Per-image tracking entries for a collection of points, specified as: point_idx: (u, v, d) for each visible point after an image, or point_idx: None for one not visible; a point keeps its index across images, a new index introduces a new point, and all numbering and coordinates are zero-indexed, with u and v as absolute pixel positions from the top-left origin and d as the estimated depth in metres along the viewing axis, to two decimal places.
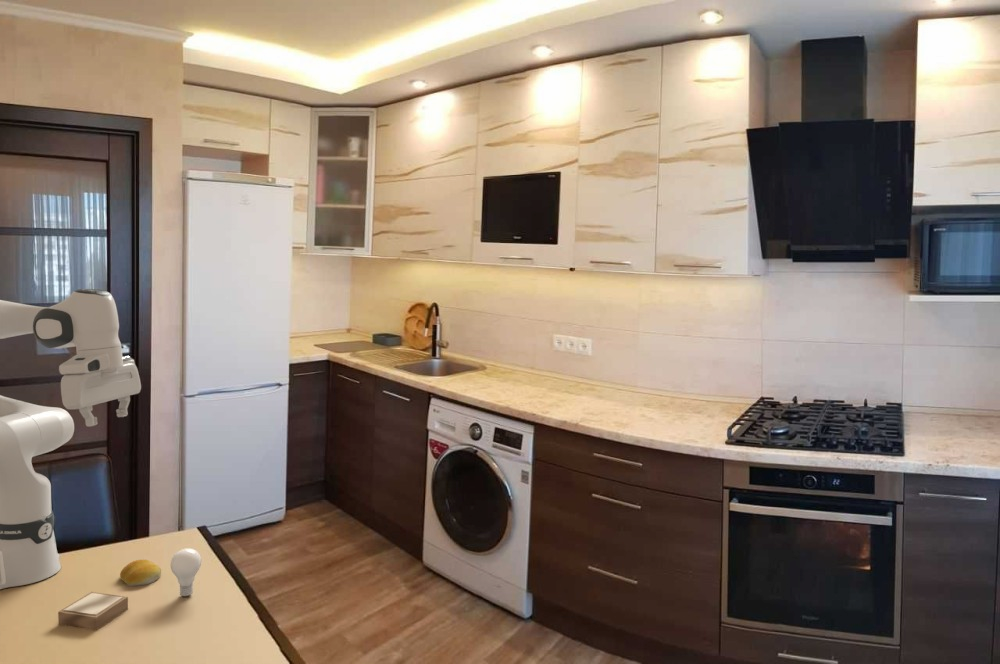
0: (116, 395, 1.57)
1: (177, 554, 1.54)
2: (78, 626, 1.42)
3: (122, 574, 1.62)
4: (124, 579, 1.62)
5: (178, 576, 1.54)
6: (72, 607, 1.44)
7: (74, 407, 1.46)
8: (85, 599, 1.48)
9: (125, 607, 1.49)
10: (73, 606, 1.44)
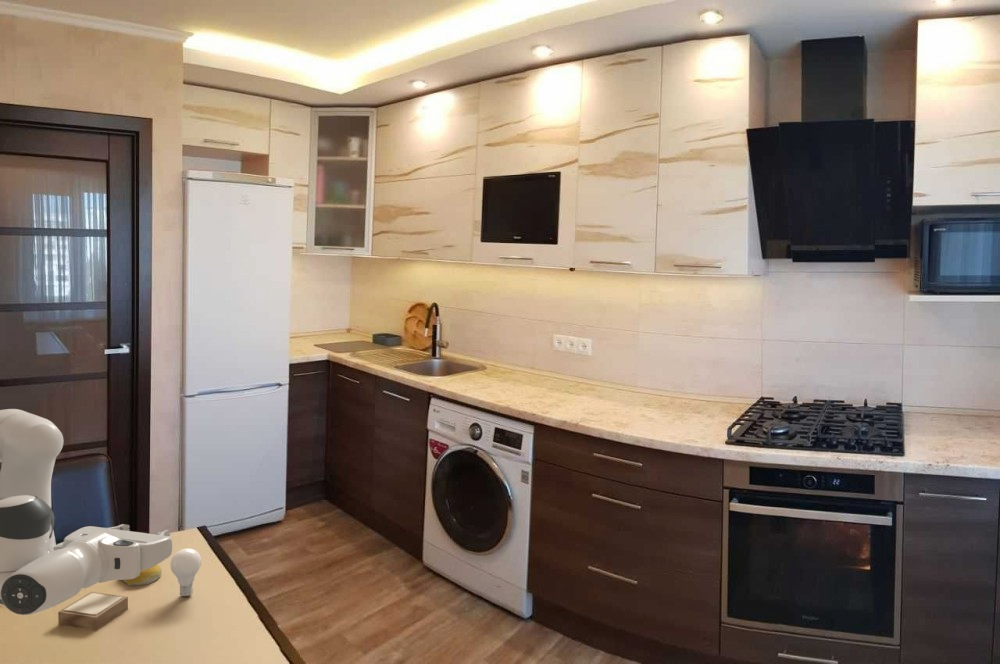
0: (120, 531, 1.37)
1: (177, 554, 1.54)
2: (78, 626, 1.42)
3: None
4: None
5: (178, 576, 1.54)
6: (72, 607, 1.44)
7: None
8: (85, 599, 1.48)
9: (125, 607, 1.49)
10: (73, 606, 1.44)
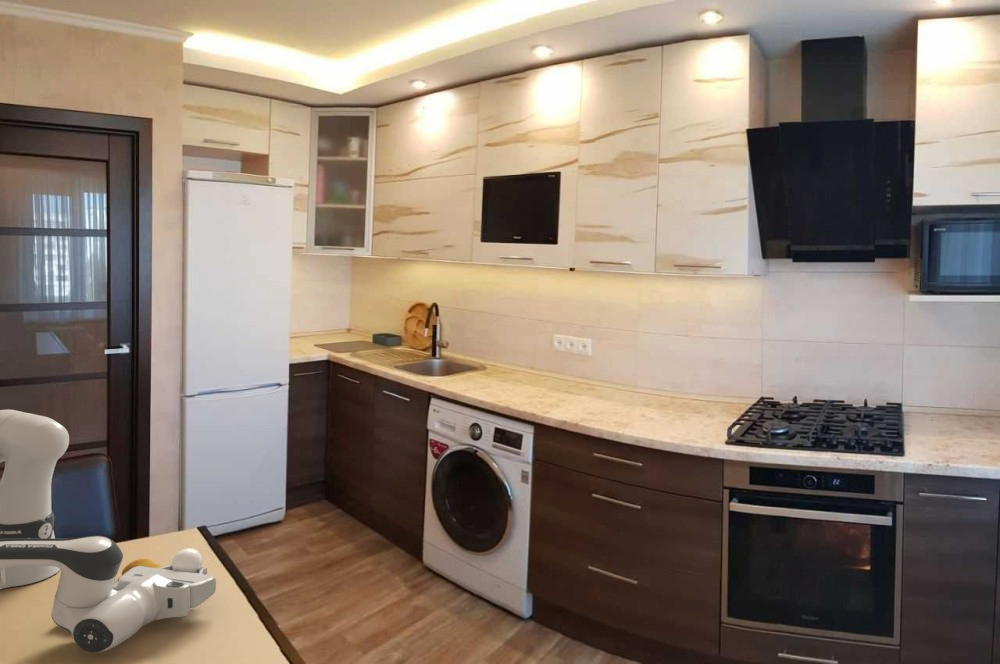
0: (168, 570, 1.52)
1: (178, 554, 1.54)
2: None
3: (124, 573, 1.62)
4: None
5: None
6: None
7: (215, 580, 1.50)
8: None
9: None
10: None
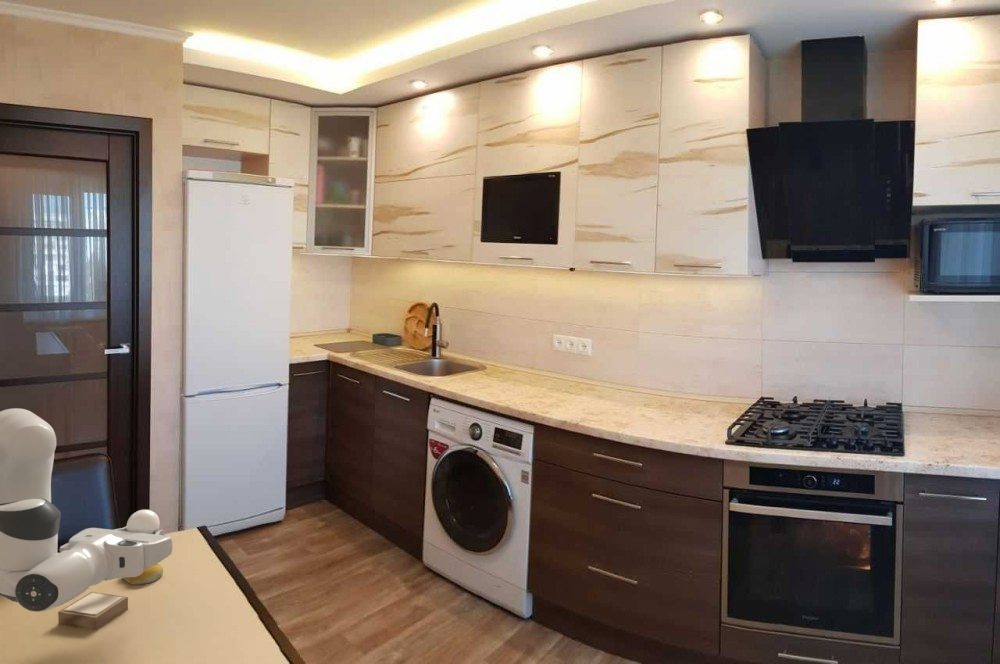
0: (122, 531, 1.45)
1: (134, 515, 1.48)
2: (78, 626, 1.42)
3: None
4: (126, 578, 1.62)
5: None
6: (72, 607, 1.44)
7: None
8: (85, 599, 1.48)
9: (125, 607, 1.49)
10: (73, 606, 1.44)
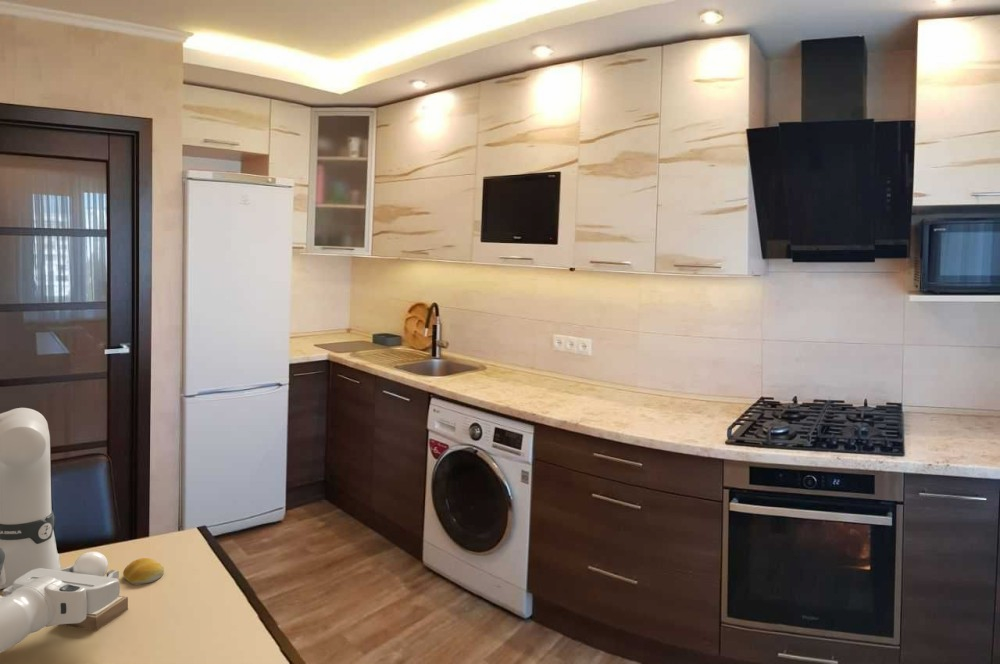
0: (69, 573, 1.41)
1: (80, 558, 1.44)
2: (78, 626, 1.42)
3: (125, 573, 1.63)
4: (127, 577, 1.62)
5: None
6: None
7: None
8: None
9: (125, 607, 1.49)
10: None
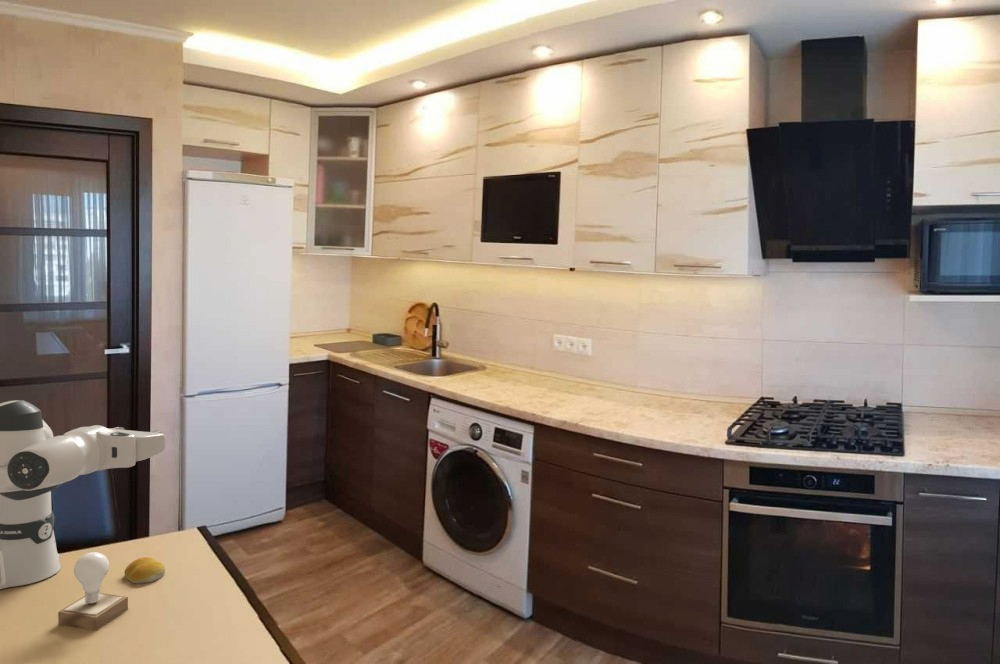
0: (116, 429, 1.46)
1: (81, 558, 1.44)
2: (78, 626, 1.42)
3: (127, 572, 1.63)
4: (129, 577, 1.63)
5: (82, 582, 1.43)
6: (72, 607, 1.44)
7: None
8: None
9: (125, 607, 1.49)
10: (73, 606, 1.44)
